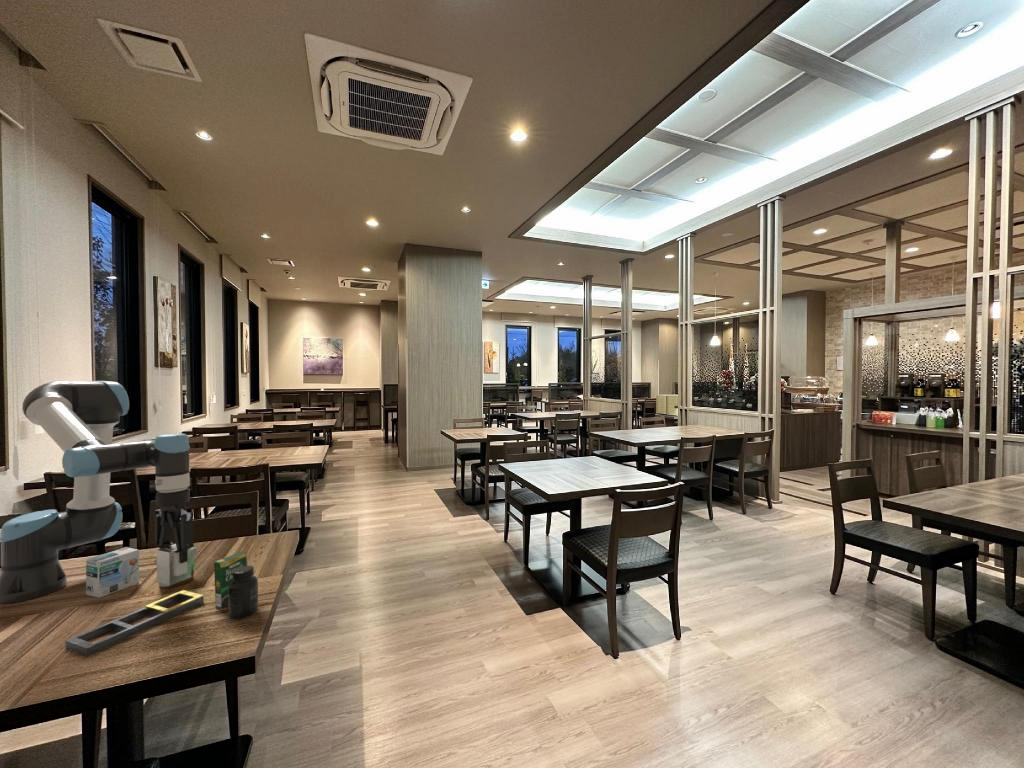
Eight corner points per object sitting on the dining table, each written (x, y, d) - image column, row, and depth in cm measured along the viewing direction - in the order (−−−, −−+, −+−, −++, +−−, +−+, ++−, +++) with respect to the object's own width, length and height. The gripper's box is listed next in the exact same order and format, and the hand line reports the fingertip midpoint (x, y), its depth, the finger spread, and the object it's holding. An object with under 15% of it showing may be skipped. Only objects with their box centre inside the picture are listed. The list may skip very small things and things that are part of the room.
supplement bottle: (254, 604, 122) (253, 561, 122) (261, 612, 117) (261, 568, 117) (225, 613, 117) (225, 569, 117) (232, 623, 112) (232, 577, 112)
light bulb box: (99, 598, 126) (98, 562, 126) (84, 595, 128) (84, 559, 129) (140, 582, 136) (140, 548, 136) (126, 579, 139) (126, 546, 139)
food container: (171, 593, 129) (170, 559, 129) (154, 591, 130) (154, 558, 130) (207, 575, 141) (207, 544, 141) (192, 573, 143) (191, 543, 143)
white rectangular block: (157, 582, 119) (156, 549, 119) (178, 574, 124) (178, 542, 124) (169, 585, 117) (169, 551, 117) (191, 577, 122) (190, 544, 122)
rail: (65, 647, 102) (65, 639, 102) (183, 597, 126) (183, 590, 126) (86, 656, 99) (86, 647, 99) (203, 602, 123) (203, 595, 123)
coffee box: (220, 610, 119) (220, 562, 119) (214, 608, 120) (213, 561, 120) (248, 596, 126) (248, 552, 126) (242, 594, 127) (241, 550, 127)
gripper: (137, 490, 120) (138, 573, 120) (179, 495, 113) (181, 583, 113) (166, 484, 127) (168, 562, 127) (208, 488, 120) (210, 571, 120)
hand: (174, 572), depth 120 cm, fingers closed on white rectangular block, 5 cm apart
